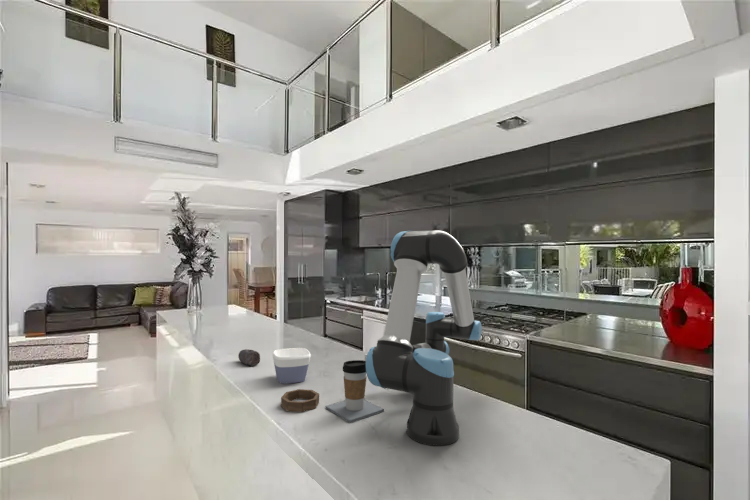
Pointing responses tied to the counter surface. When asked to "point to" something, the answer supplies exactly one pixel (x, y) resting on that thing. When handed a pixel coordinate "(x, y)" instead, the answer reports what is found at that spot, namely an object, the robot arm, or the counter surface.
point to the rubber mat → (353, 416)
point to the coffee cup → (354, 384)
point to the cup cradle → (299, 405)
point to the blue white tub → (291, 364)
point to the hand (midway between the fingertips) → (377, 362)
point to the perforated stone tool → (249, 357)
